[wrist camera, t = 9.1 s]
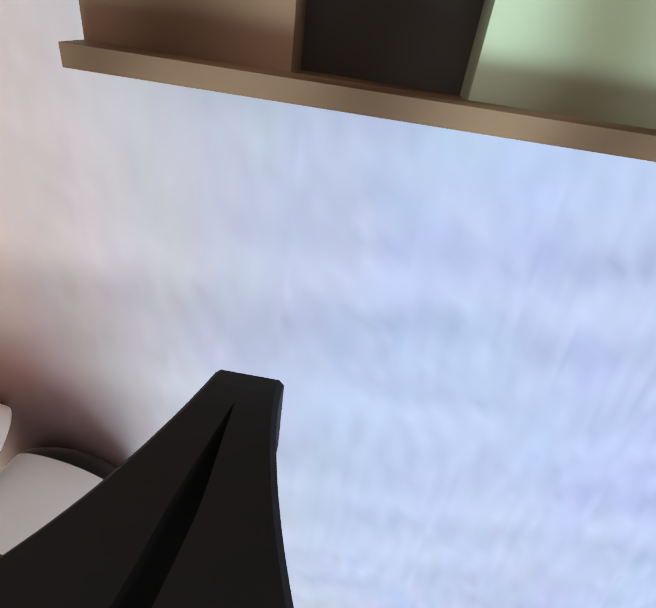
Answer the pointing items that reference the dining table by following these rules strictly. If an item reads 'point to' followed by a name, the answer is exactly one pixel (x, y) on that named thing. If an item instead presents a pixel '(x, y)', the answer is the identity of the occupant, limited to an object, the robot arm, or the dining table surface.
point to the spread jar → (41, 485)
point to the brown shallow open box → (403, 60)
